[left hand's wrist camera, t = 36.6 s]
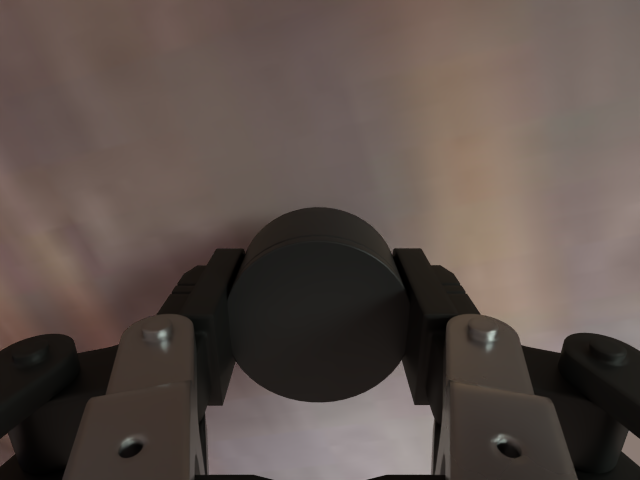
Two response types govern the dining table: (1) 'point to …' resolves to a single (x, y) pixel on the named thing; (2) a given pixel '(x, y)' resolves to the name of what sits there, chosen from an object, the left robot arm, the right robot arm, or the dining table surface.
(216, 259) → the left robot arm
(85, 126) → the dining table surface
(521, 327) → the dining table surface
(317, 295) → the cap
